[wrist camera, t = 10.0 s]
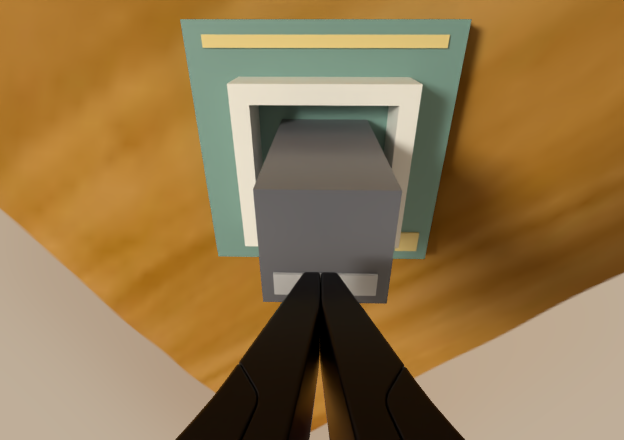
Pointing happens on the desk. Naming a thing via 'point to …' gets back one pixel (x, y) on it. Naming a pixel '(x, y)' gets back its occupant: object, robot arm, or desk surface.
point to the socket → (320, 91)
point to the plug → (326, 208)
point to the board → (324, 63)
